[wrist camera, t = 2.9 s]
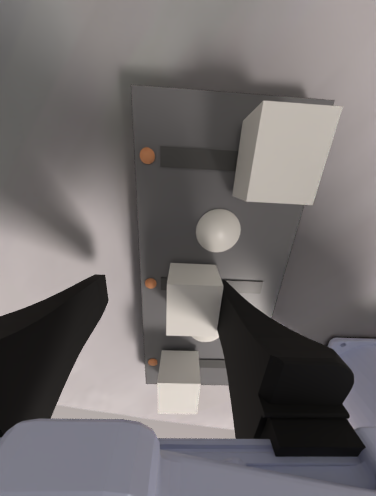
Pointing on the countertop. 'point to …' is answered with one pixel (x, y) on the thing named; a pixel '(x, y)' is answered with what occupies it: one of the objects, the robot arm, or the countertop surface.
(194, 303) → the switch
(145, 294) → the switch panel
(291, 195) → the switch
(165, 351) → the switch
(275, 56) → the countertop surface
